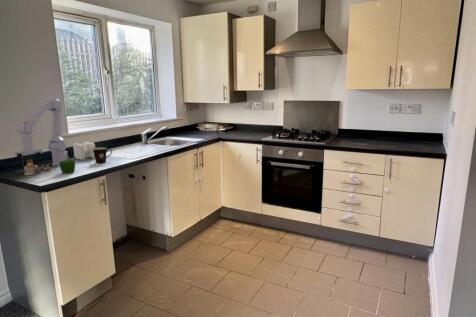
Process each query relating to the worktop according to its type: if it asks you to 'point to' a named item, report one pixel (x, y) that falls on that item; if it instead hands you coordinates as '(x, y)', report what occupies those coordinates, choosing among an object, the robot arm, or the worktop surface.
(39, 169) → the clip
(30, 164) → the connector plug
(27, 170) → the end holder
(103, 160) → the coffee mug
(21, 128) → the robot arm
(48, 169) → the clip
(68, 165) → the bell pepper
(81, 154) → the white lumpy block
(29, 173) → the board
